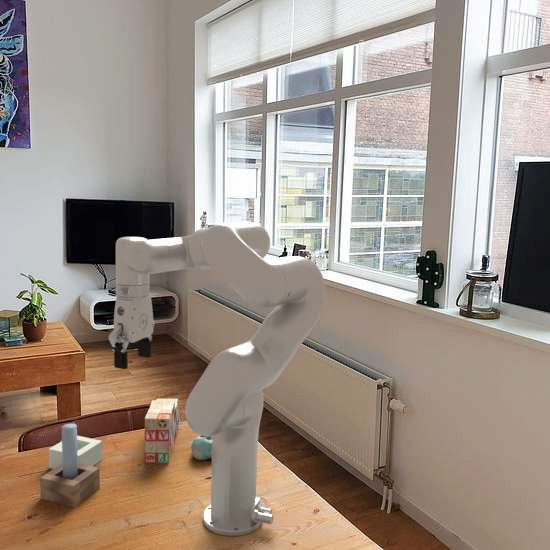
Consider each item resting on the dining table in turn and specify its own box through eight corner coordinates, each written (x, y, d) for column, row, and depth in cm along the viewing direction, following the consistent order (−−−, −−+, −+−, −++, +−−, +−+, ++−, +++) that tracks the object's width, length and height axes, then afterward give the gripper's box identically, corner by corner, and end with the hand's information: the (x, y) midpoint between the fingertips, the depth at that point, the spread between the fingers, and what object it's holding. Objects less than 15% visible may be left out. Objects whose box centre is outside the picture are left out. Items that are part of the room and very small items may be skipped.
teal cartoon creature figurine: (243, 432, 158) (212, 439, 148) (239, 459, 158) (208, 467, 148) (213, 422, 164) (182, 427, 154) (209, 447, 164) (178, 454, 154)
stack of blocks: (156, 428, 171) (157, 387, 169) (178, 429, 172) (179, 388, 170) (144, 463, 150) (144, 417, 148) (169, 464, 150) (169, 418, 149)
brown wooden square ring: (99, 488, 138) (99, 467, 137) (74, 507, 129) (73, 486, 128) (67, 480, 141) (67, 460, 140) (40, 498, 132) (40, 477, 131)
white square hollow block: (102, 459, 151) (102, 440, 151) (79, 475, 143) (79, 455, 142) (73, 452, 154) (73, 434, 154) (49, 468, 146) (48, 448, 145)
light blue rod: (81, 491, 136) (79, 425, 133) (71, 498, 133) (70, 430, 130) (69, 488, 137) (68, 422, 134) (60, 495, 134) (58, 427, 131)
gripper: (125, 298, 128) (125, 375, 131) (166, 286, 144) (166, 354, 147) (95, 295, 130) (96, 370, 133) (139, 283, 146) (139, 350, 149)
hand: (133, 362), depth 140 cm, fingers open, 9 cm apart
